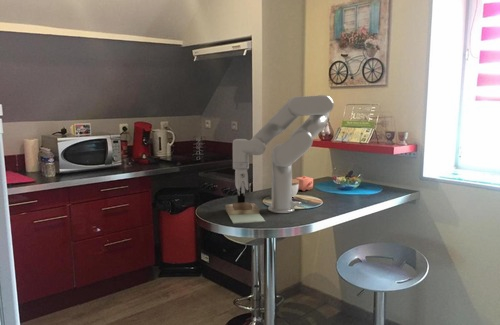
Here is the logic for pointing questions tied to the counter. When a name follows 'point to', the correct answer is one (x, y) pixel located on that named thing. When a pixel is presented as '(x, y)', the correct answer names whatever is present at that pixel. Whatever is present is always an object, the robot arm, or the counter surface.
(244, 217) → the sage mat
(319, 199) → the counter surface
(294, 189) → the lidded bowl
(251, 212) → the birch board
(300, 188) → the pink cube teapot
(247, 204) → the walnut block
